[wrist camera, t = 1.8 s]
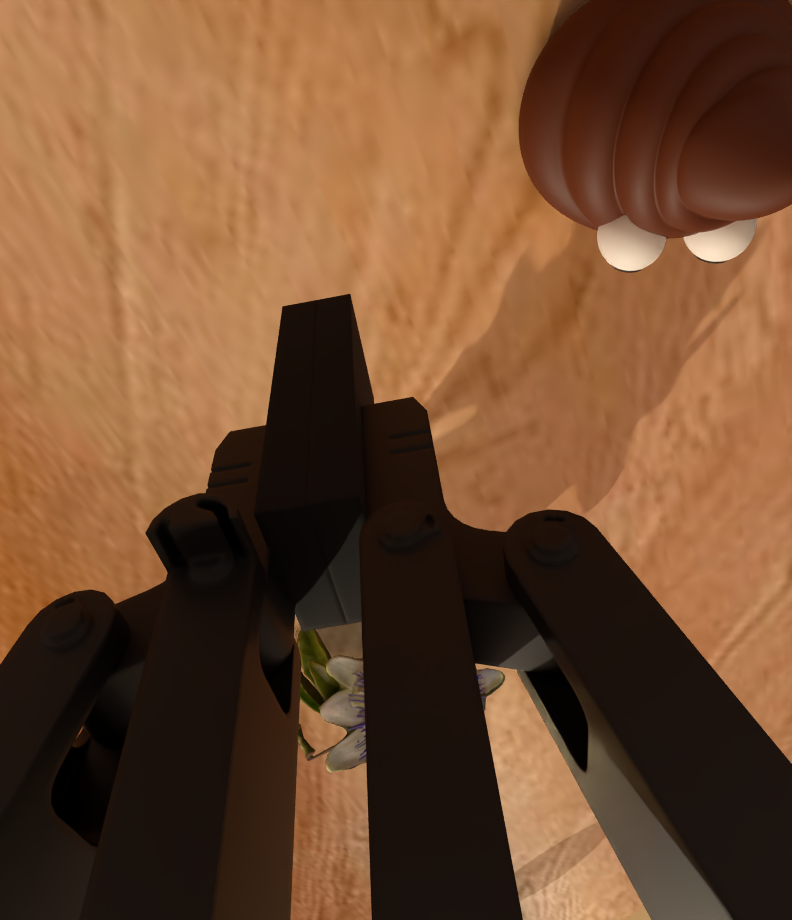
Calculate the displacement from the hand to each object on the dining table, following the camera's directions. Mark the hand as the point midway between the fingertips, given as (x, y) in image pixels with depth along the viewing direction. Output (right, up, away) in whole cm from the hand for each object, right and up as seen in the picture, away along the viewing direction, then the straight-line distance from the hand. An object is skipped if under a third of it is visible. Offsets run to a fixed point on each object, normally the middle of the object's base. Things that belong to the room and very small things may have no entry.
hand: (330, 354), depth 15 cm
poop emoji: (+11, +11, +10) cm, 18 cm away
